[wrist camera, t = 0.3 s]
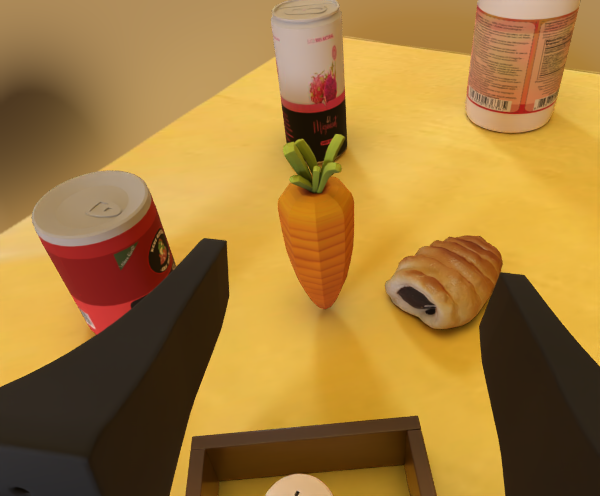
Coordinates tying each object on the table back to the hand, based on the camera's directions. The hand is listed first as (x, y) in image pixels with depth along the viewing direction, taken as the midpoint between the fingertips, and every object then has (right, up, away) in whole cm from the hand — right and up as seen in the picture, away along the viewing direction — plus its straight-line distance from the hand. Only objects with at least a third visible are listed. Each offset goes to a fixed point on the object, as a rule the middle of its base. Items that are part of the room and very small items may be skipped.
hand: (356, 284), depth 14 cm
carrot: (+1, -4, +27) cm, 27 cm away
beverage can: (0, +12, +44) cm, 46 cm away
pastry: (+10, -3, +27) cm, 29 cm away
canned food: (-14, -4, +29) cm, 32 cm away
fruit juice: (+22, +16, +46) cm, 54 cm away
